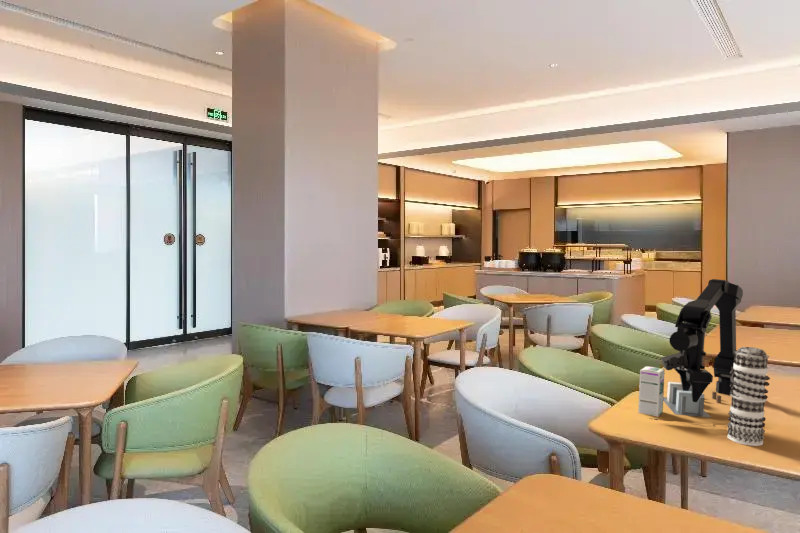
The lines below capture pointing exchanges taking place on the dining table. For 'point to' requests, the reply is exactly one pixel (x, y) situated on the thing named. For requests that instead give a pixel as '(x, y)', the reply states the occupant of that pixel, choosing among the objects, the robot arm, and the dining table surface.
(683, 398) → the rack
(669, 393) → the white rectangular block
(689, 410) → the white long rectangular block
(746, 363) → the decorative candle
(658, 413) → the syrup box
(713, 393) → the stand
